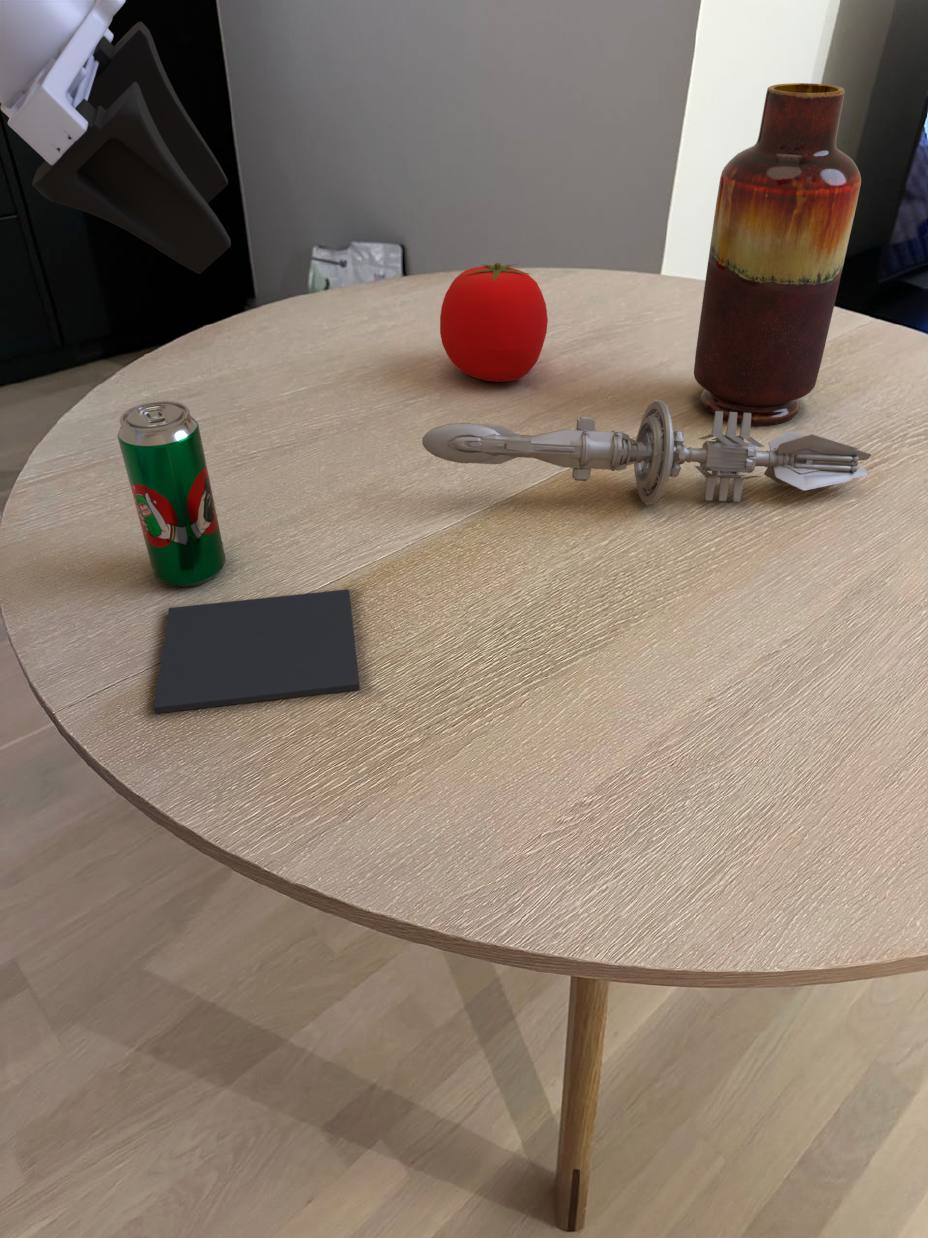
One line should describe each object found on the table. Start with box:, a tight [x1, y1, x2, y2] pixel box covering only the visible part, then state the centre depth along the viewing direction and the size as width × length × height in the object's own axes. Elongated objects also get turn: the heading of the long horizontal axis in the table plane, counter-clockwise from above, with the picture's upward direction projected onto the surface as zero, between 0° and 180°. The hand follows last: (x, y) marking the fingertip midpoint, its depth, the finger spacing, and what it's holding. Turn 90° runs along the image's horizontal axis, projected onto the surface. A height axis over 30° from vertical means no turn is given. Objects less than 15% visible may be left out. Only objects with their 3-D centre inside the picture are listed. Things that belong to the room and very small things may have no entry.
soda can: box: [117, 400, 226, 588], centre depth 63 cm, size 5×5×12 cm
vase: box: [693, 82, 862, 427], centre depth 79 cm, size 11×11×26 cm
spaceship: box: [421, 399, 872, 506], centre depth 71 cm, size 8×35×8 cm
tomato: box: [439, 262, 549, 383], centre depth 91 cm, size 10×11×11 cm
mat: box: [153, 588, 361, 714], centre depth 59 cm, size 12×10×1 cm
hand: (214, 224), depth 44 cm, fingers open, 7 cm apart
